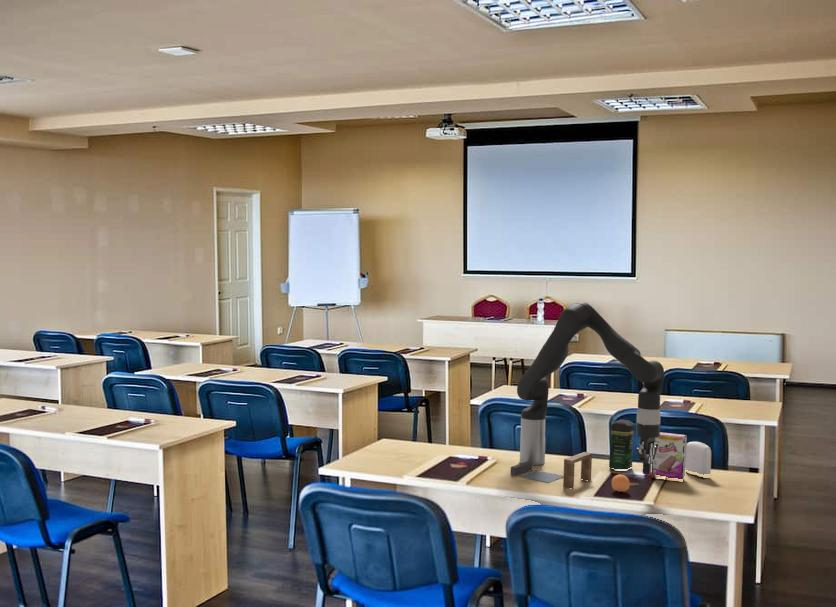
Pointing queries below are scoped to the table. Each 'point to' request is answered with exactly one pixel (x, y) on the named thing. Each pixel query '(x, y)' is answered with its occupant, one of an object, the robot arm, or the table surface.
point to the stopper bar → (521, 468)
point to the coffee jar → (621, 444)
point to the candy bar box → (670, 456)
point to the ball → (620, 483)
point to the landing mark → (541, 476)
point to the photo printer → (698, 458)
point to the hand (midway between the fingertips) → (646, 473)
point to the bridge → (569, 468)
